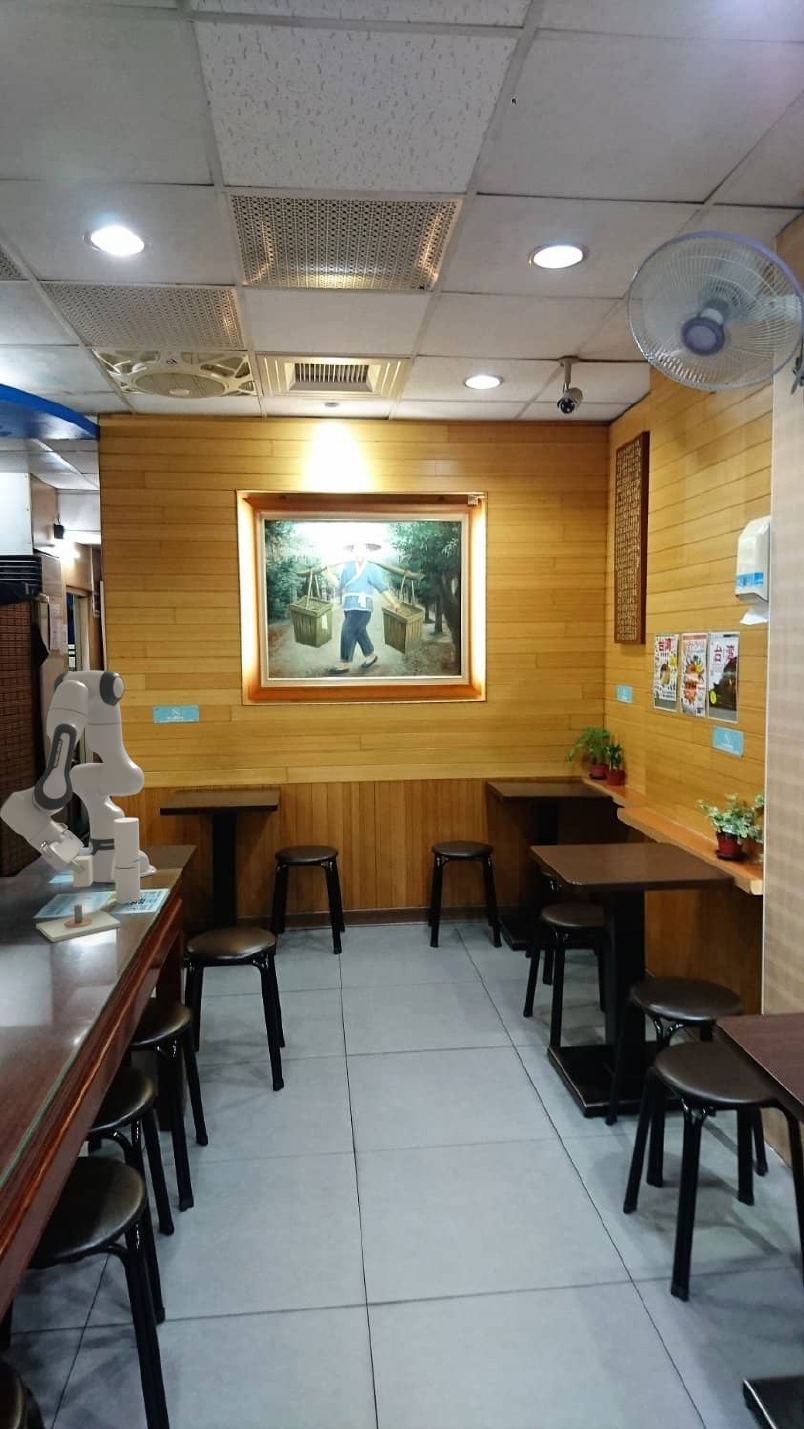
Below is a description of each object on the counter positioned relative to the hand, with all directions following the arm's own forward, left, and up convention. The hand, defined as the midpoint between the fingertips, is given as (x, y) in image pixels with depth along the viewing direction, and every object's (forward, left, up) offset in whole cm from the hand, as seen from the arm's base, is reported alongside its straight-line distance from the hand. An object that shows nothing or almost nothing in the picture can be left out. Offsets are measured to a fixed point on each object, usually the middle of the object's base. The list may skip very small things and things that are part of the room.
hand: (85, 868), depth 229 cm
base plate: (+7, +14, -12) cm, 20 cm away
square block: (0, 0, -5) cm, 5 cm away
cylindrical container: (-13, -1, -13) cm, 18 cm away
